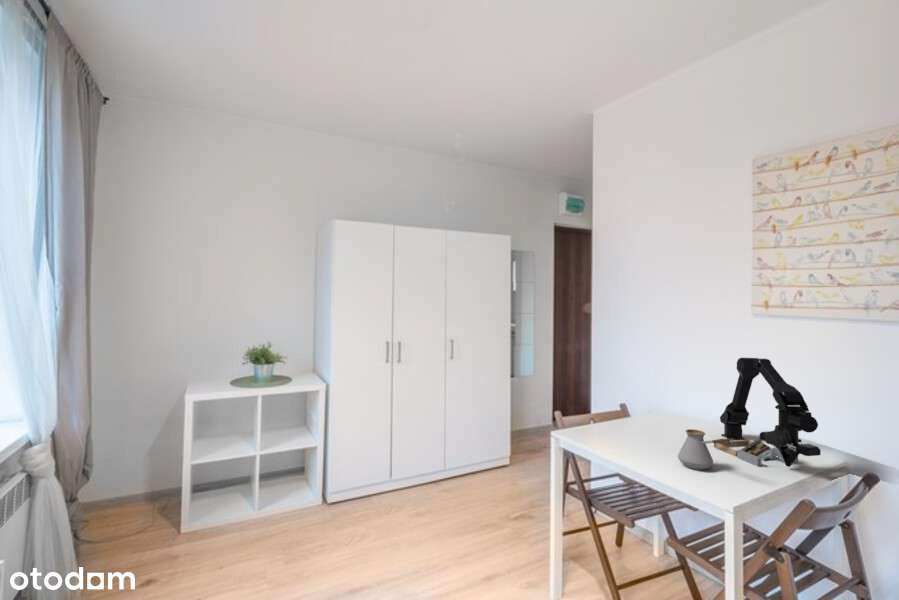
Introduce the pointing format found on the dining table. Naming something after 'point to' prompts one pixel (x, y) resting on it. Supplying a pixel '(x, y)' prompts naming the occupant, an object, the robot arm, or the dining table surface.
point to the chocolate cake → (759, 450)
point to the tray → (726, 445)
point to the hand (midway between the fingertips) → (788, 466)
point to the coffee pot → (697, 450)
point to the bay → (757, 460)
